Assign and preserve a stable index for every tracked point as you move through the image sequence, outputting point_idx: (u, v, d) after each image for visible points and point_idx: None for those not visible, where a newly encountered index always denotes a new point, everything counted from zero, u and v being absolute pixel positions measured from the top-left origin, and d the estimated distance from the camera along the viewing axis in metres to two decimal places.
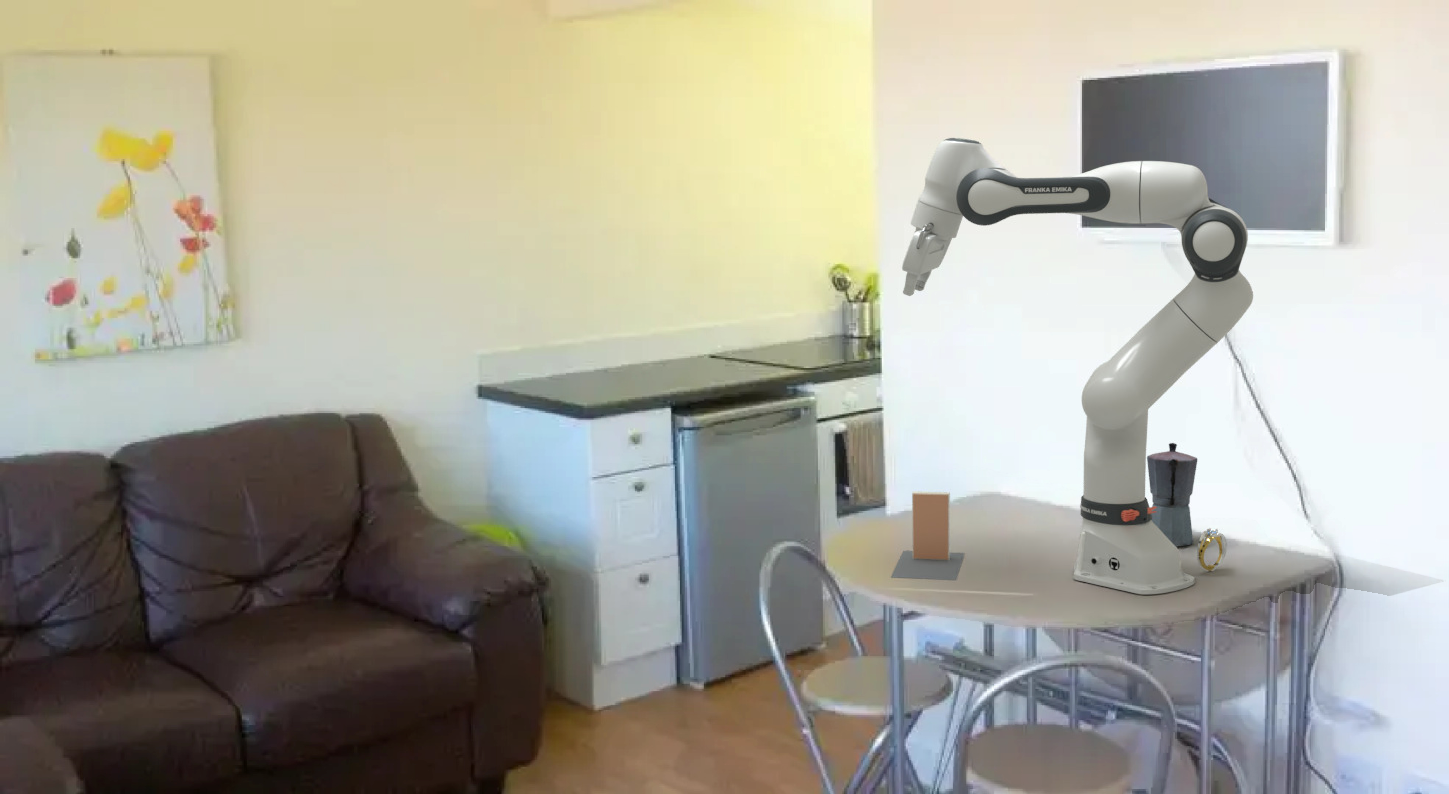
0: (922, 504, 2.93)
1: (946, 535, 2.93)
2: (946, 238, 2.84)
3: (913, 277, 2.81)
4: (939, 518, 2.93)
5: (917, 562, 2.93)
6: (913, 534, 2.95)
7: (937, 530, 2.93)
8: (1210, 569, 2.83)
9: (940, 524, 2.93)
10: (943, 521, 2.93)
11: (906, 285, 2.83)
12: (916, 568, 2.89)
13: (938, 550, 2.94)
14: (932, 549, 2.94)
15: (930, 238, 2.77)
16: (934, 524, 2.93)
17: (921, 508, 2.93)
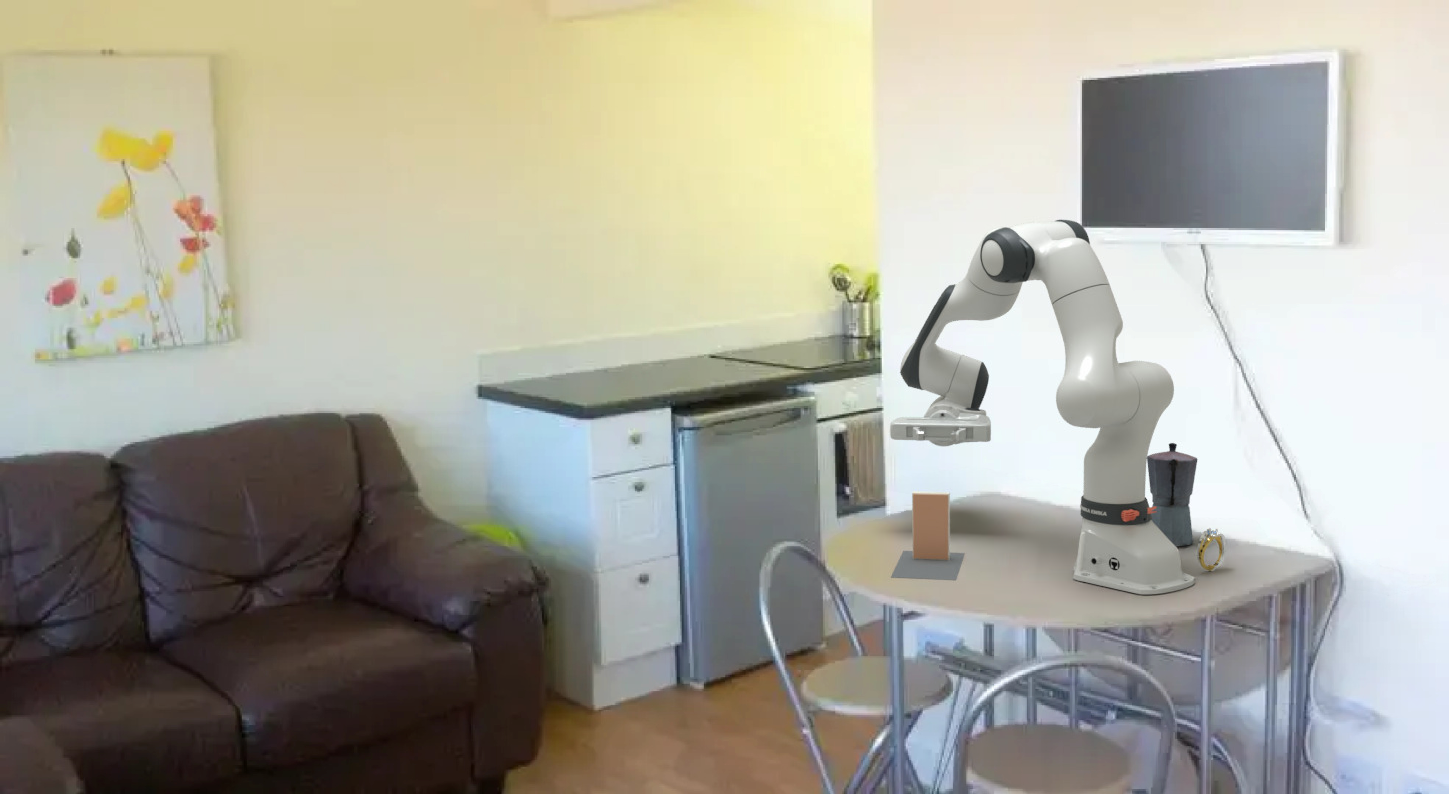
0: (922, 504, 2.93)
1: (946, 535, 2.93)
2: (938, 411, 3.15)
3: (912, 431, 3.08)
4: (939, 518, 2.93)
5: (917, 562, 2.93)
6: (913, 534, 2.95)
7: (937, 530, 2.93)
8: (1210, 569, 2.83)
9: (940, 524, 2.93)
10: (943, 521, 2.93)
11: None
12: (916, 568, 2.89)
13: (938, 550, 2.94)
14: (932, 549, 2.94)
15: (901, 418, 3.17)
16: (934, 524, 2.93)
17: (921, 508, 2.93)
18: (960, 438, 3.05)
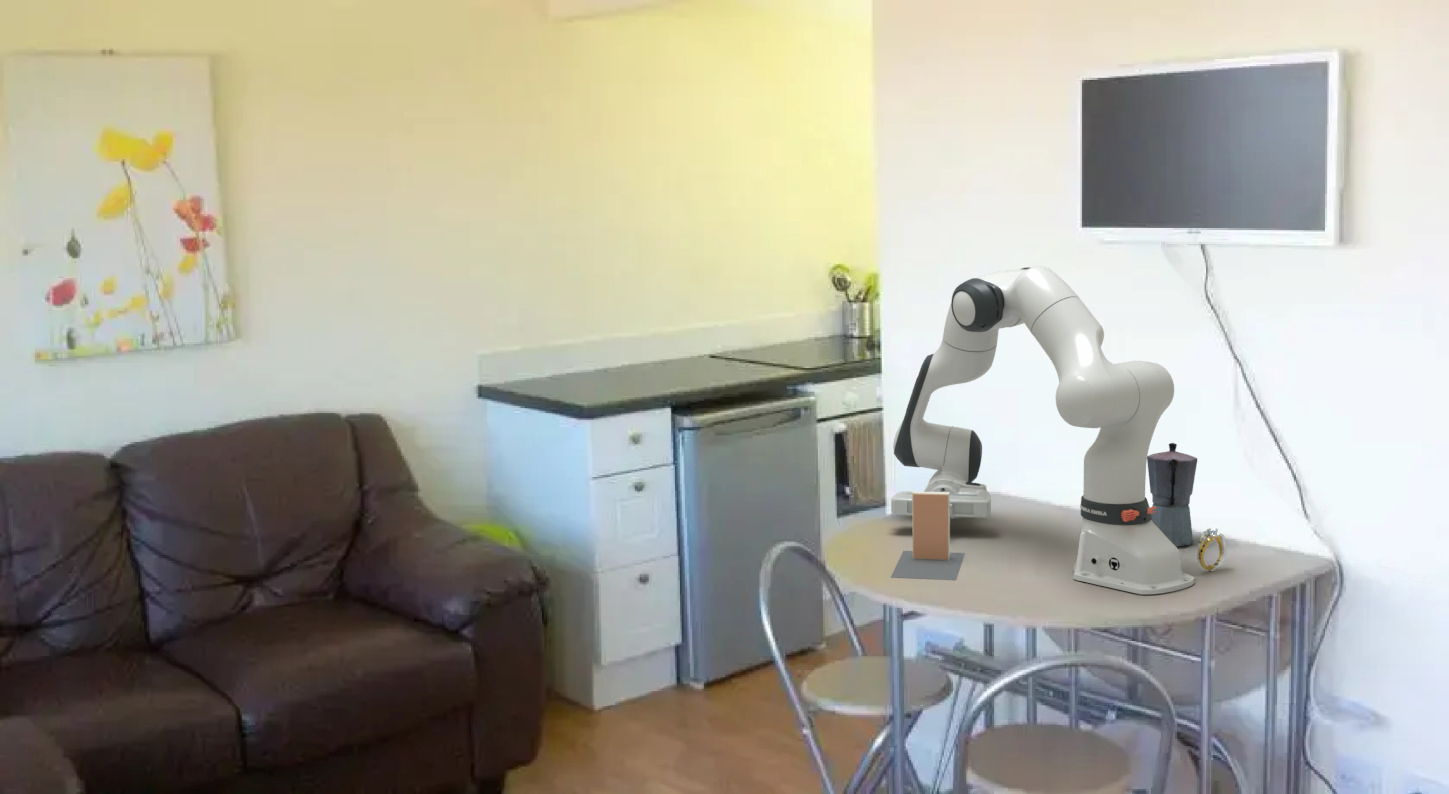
0: (922, 504, 2.93)
1: (946, 535, 2.93)
2: (939, 486, 3.17)
3: None
4: (939, 518, 2.93)
5: (917, 562, 2.93)
6: (913, 534, 2.95)
7: (937, 530, 2.93)
8: (1210, 569, 2.83)
9: (940, 524, 2.93)
10: (943, 521, 2.93)
11: None
12: (916, 568, 2.89)
13: (938, 550, 2.94)
14: (932, 549, 2.94)
15: None
16: (934, 524, 2.93)
17: (921, 508, 2.93)
18: None
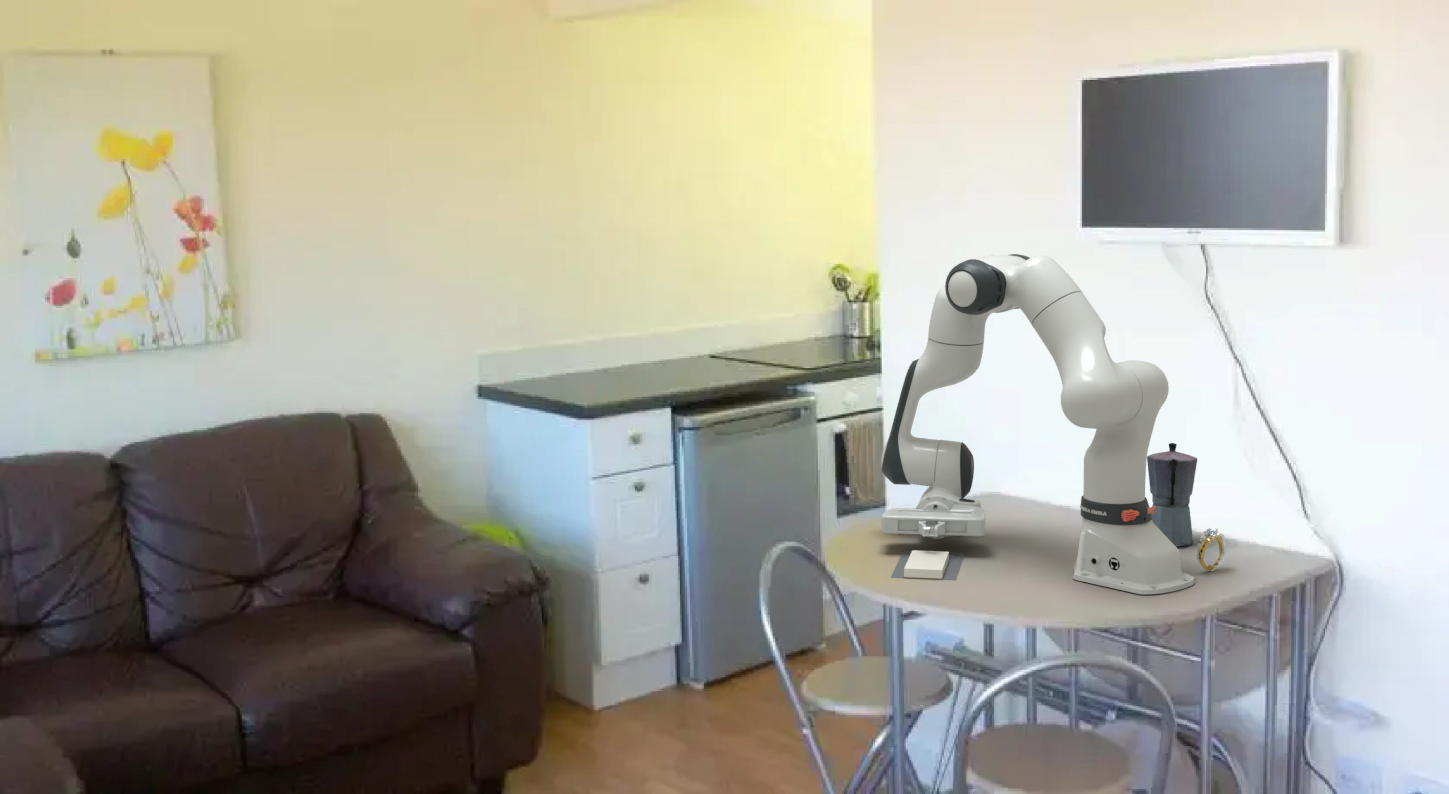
0: None
1: None
2: (931, 503, 3.03)
3: (918, 525, 2.96)
4: None
5: None
6: None
7: None
8: (1210, 569, 2.83)
9: None
10: None
11: None
12: None
13: None
14: None
15: None
16: None
17: None
18: (939, 533, 2.93)
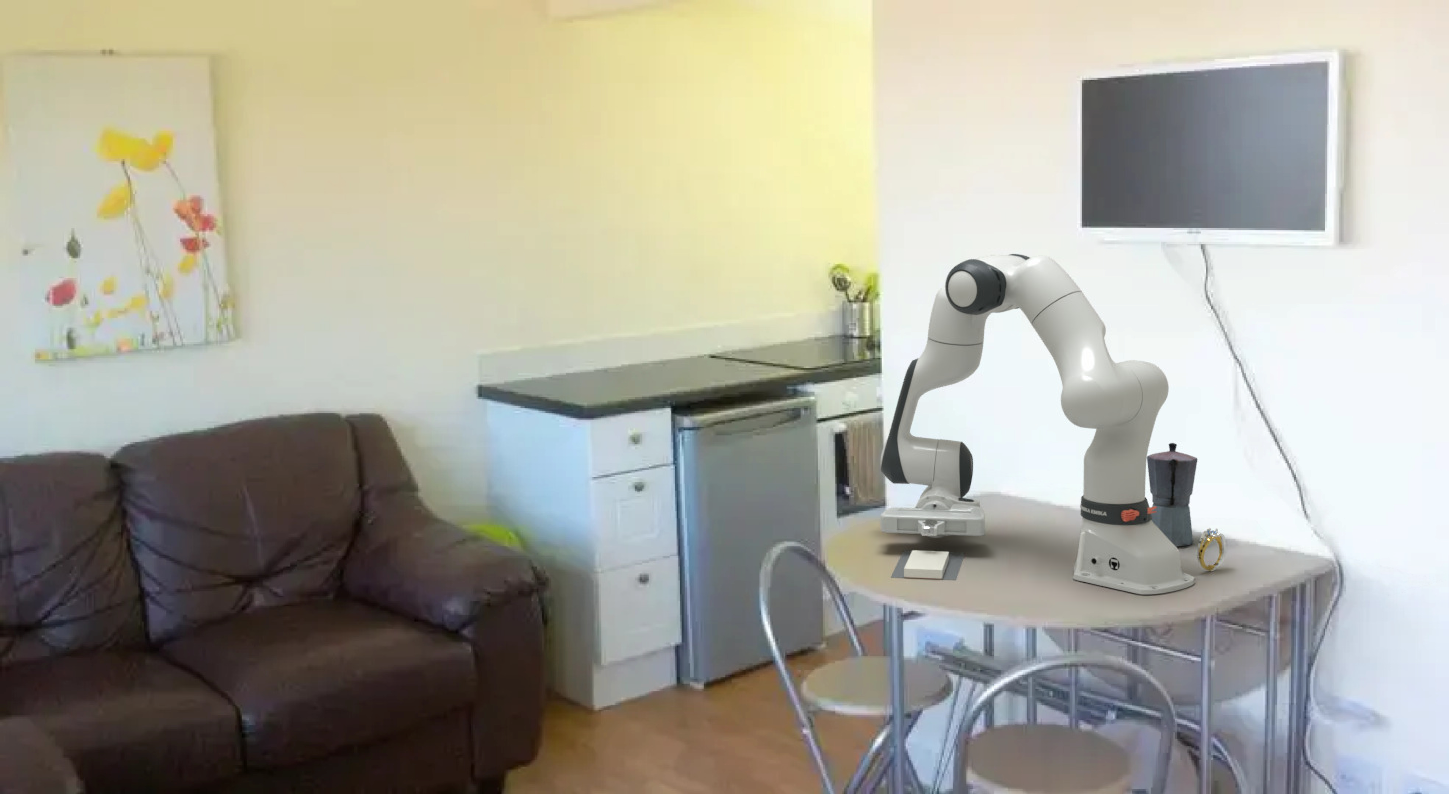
0: None
1: None
2: (930, 502, 3.03)
3: (918, 525, 2.96)
4: None
5: None
6: None
7: None
8: (1210, 569, 2.83)
9: None
10: None
11: (922, 532, 2.94)
12: None
13: None
14: None
15: None
16: None
17: None
18: (938, 532, 2.93)
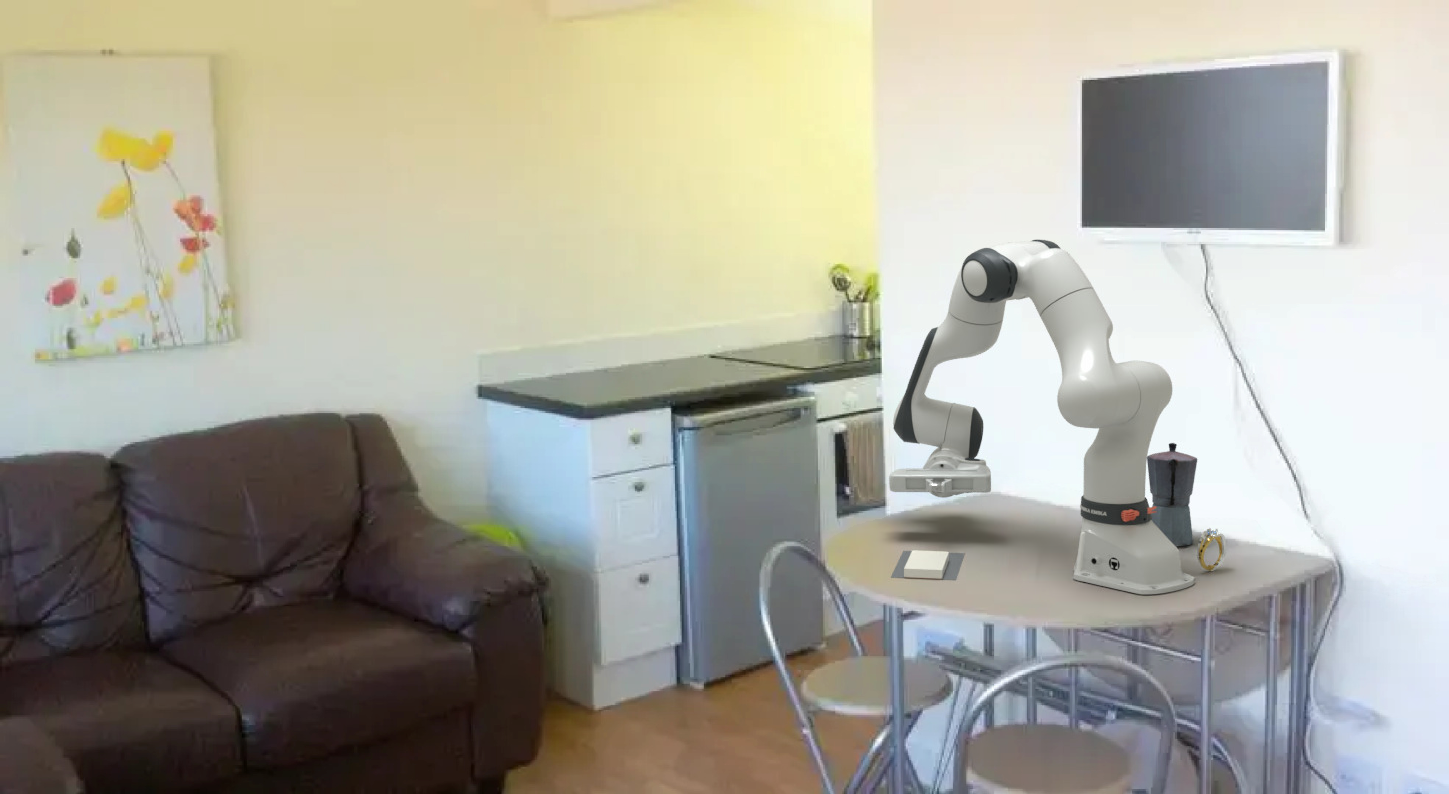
0: None
1: None
2: (937, 462, 3.11)
3: (925, 483, 3.04)
4: None
5: None
6: None
7: None
8: (1210, 569, 2.83)
9: None
10: None
11: None
12: None
13: None
14: None
15: None
16: None
17: None
18: (946, 489, 3.02)
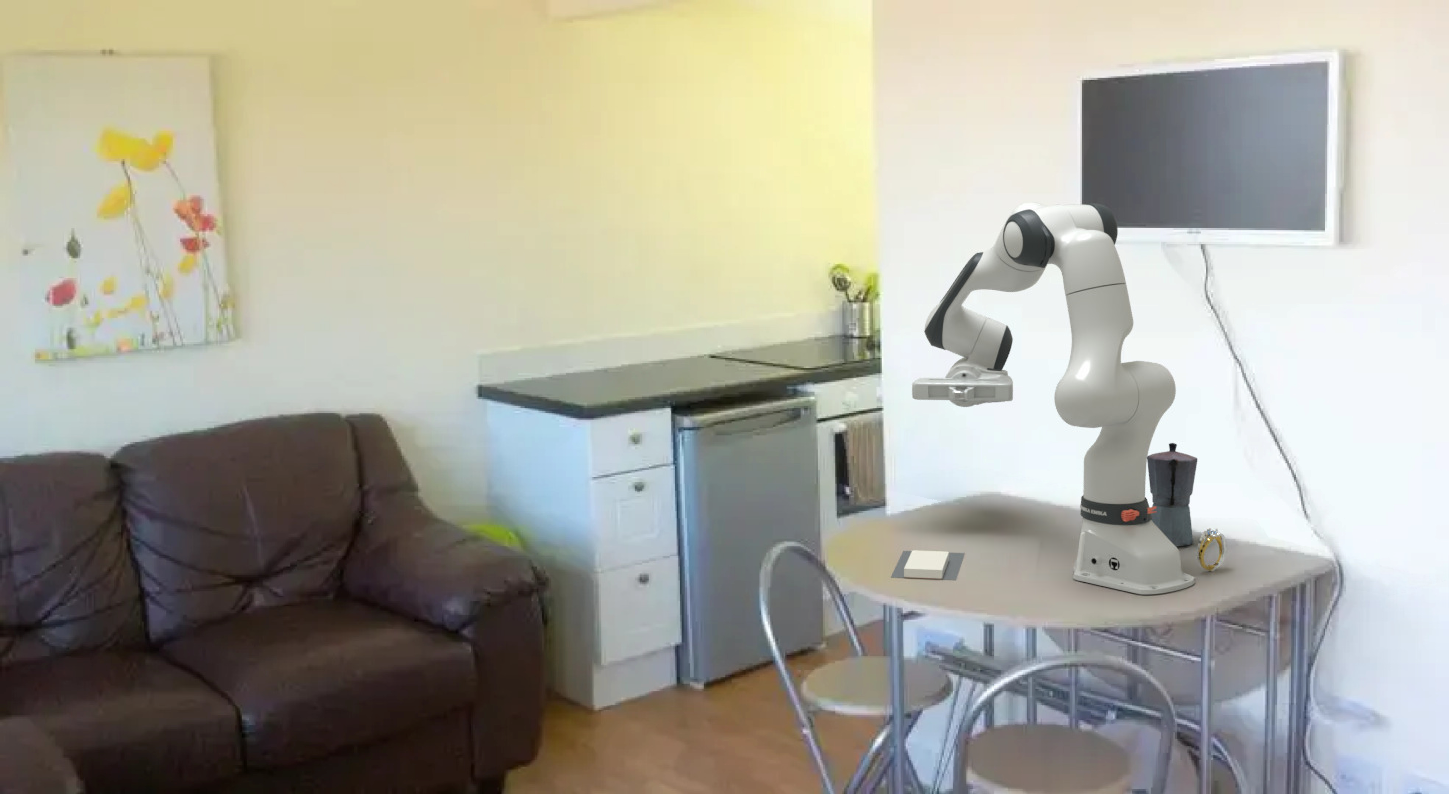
0: None
1: None
2: (960, 372, 3.15)
3: (948, 390, 3.08)
4: None
5: None
6: None
7: None
8: (1210, 569, 2.83)
9: None
10: None
11: None
12: None
13: None
14: None
15: None
16: None
17: None
18: (968, 397, 3.05)
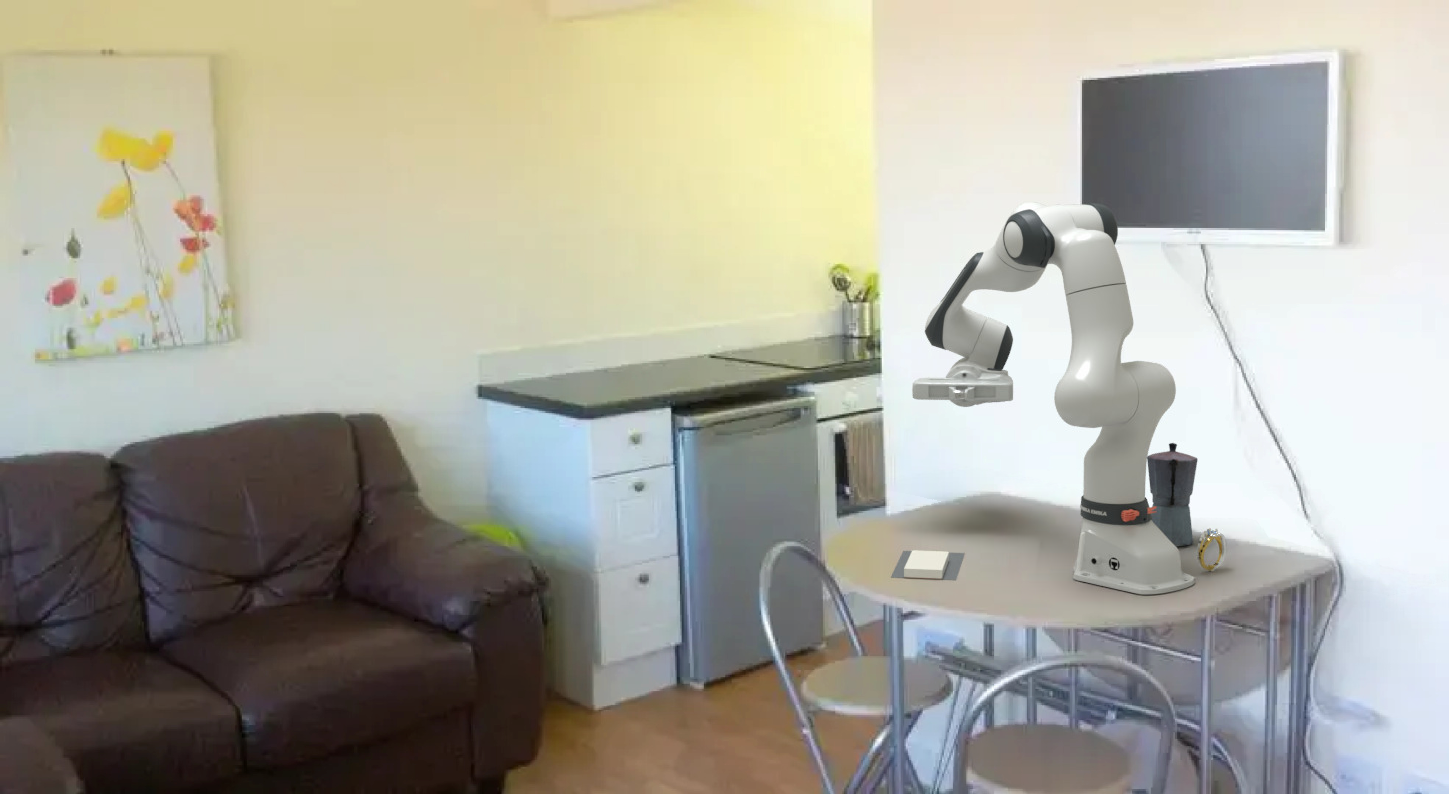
0: None
1: None
2: (960, 371, 3.15)
3: (948, 390, 3.08)
4: None
5: None
6: None
7: None
8: (1210, 569, 2.83)
9: None
10: None
11: (952, 397, 3.06)
12: None
13: None
14: None
15: None
16: None
17: None
18: (969, 397, 3.05)
